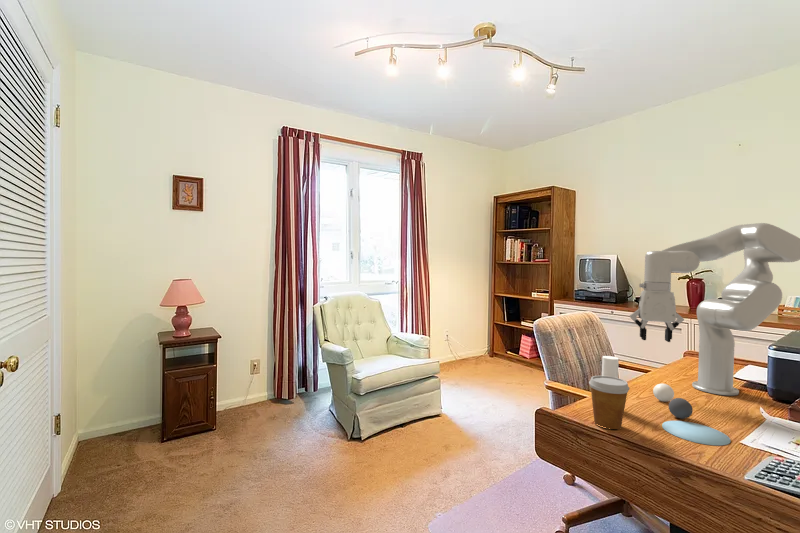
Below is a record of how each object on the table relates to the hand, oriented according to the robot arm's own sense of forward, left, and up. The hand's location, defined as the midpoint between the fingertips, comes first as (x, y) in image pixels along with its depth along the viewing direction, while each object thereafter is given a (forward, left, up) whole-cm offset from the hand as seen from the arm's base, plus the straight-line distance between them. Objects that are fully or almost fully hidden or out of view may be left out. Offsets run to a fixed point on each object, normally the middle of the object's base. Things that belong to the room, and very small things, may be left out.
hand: (655, 340), depth 132 cm
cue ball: (+7, +6, -15) cm, 18 cm away
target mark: (+26, +21, -18) cm, 38 cm away
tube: (+28, +1, -18) cm, 33 cm away
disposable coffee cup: (+41, +8, -18) cm, 46 cm away
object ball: (+18, +15, -15) cm, 28 cm away
